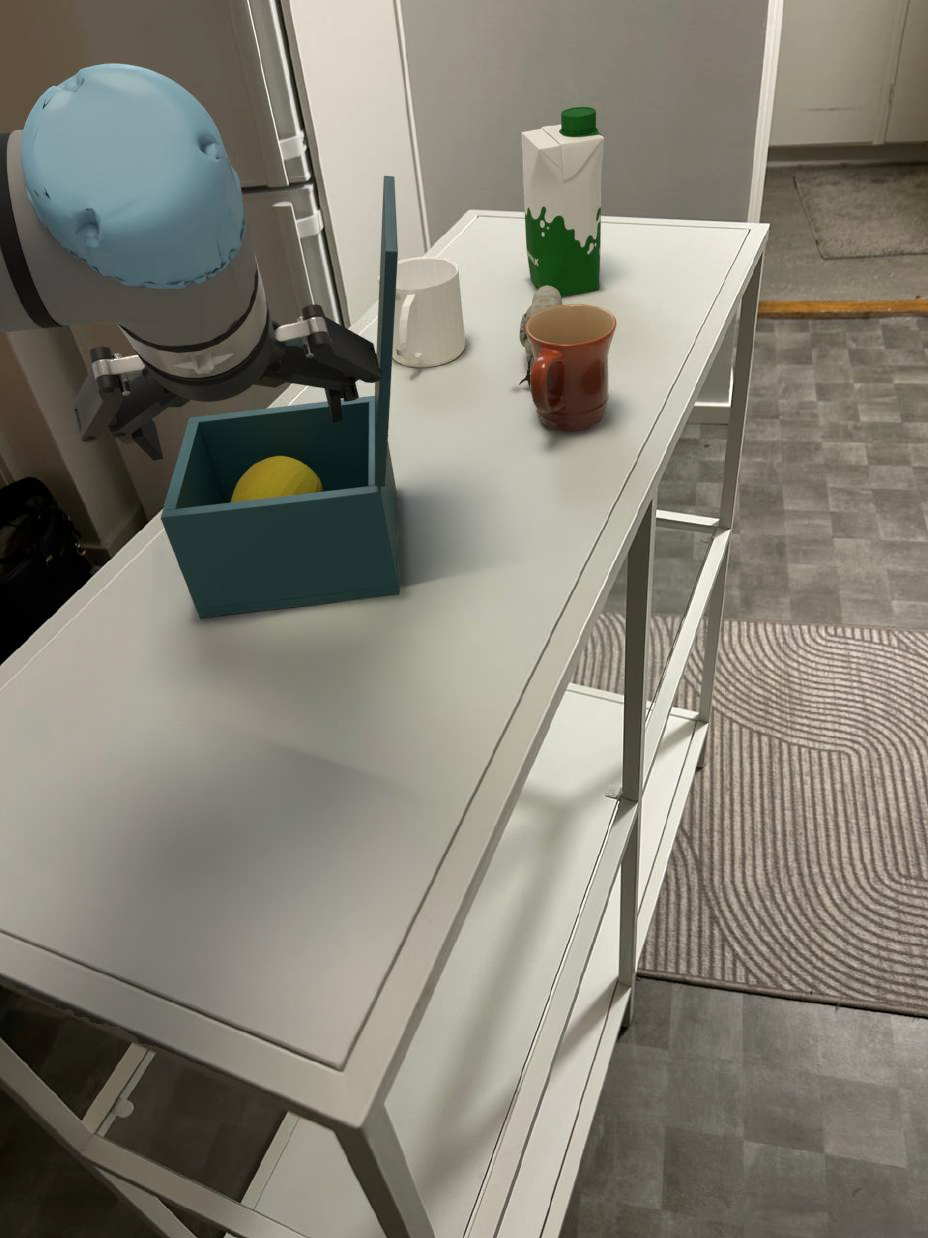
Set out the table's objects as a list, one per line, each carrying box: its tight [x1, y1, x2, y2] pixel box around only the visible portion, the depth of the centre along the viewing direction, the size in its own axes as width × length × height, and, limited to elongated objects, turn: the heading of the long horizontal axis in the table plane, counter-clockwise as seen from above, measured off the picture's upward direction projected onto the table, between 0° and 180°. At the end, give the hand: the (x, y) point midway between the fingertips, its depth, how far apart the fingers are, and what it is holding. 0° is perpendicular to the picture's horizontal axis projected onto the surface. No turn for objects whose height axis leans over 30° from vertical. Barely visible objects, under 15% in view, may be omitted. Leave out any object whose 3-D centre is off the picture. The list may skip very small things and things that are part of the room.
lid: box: [374, 175, 399, 487], centre depth 70 cm, size 18×15×1 cm
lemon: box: [231, 456, 324, 503], centre depth 80 cm, size 11×8×8 cm
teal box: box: [160, 395, 401, 619], centre depth 80 cm, size 17×15×10 cm
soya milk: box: [520, 106, 605, 298], centre depth 113 cm, size 9×9×20 cm
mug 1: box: [377, 255, 466, 368], centre depth 106 cm, size 12×9×9 cm
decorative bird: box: [518, 286, 564, 389], centre depth 103 cm, size 5×16×8 cm, turn 173°
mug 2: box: [525, 303, 617, 433], centre depth 91 cm, size 12×9×10 cm
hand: (244, 423), depth 70 cm, fingers open, 13 cm apart
